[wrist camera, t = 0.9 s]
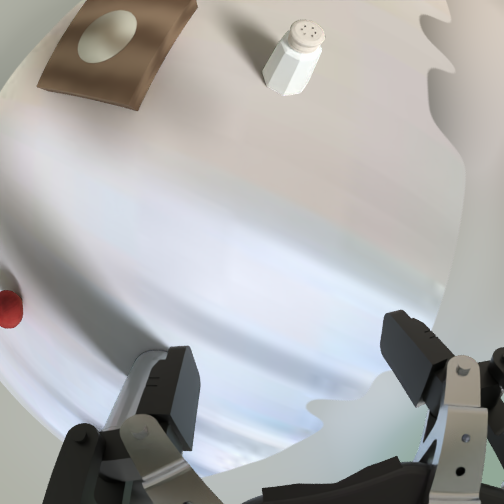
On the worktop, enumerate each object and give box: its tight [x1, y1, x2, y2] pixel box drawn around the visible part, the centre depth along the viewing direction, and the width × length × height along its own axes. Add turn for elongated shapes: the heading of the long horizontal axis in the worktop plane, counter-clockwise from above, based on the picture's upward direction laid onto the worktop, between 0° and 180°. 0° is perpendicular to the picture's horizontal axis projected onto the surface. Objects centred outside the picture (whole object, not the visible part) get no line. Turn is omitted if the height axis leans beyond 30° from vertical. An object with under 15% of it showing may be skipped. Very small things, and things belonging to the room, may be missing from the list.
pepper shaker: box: [262, 20, 325, 96], centre depth 21 cm, size 5×5×11 cm
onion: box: [0, 290, 23, 328], centre depth 27 cm, size 6×6×8 cm
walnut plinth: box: [37, 0, 198, 111], centre depth 22 cm, size 16×16×3 cm
